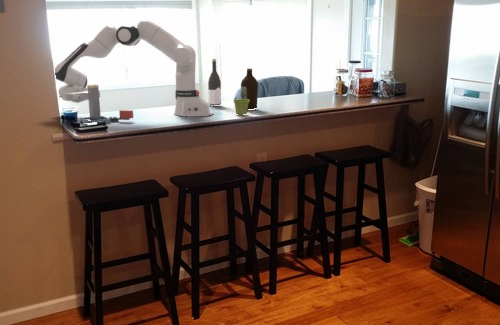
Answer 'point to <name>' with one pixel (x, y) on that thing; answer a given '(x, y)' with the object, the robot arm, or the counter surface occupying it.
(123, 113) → the crank lever
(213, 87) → the wine bottle
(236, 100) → the plant pot
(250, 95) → the olive oil
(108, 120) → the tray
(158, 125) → the counter surface
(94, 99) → the pin
